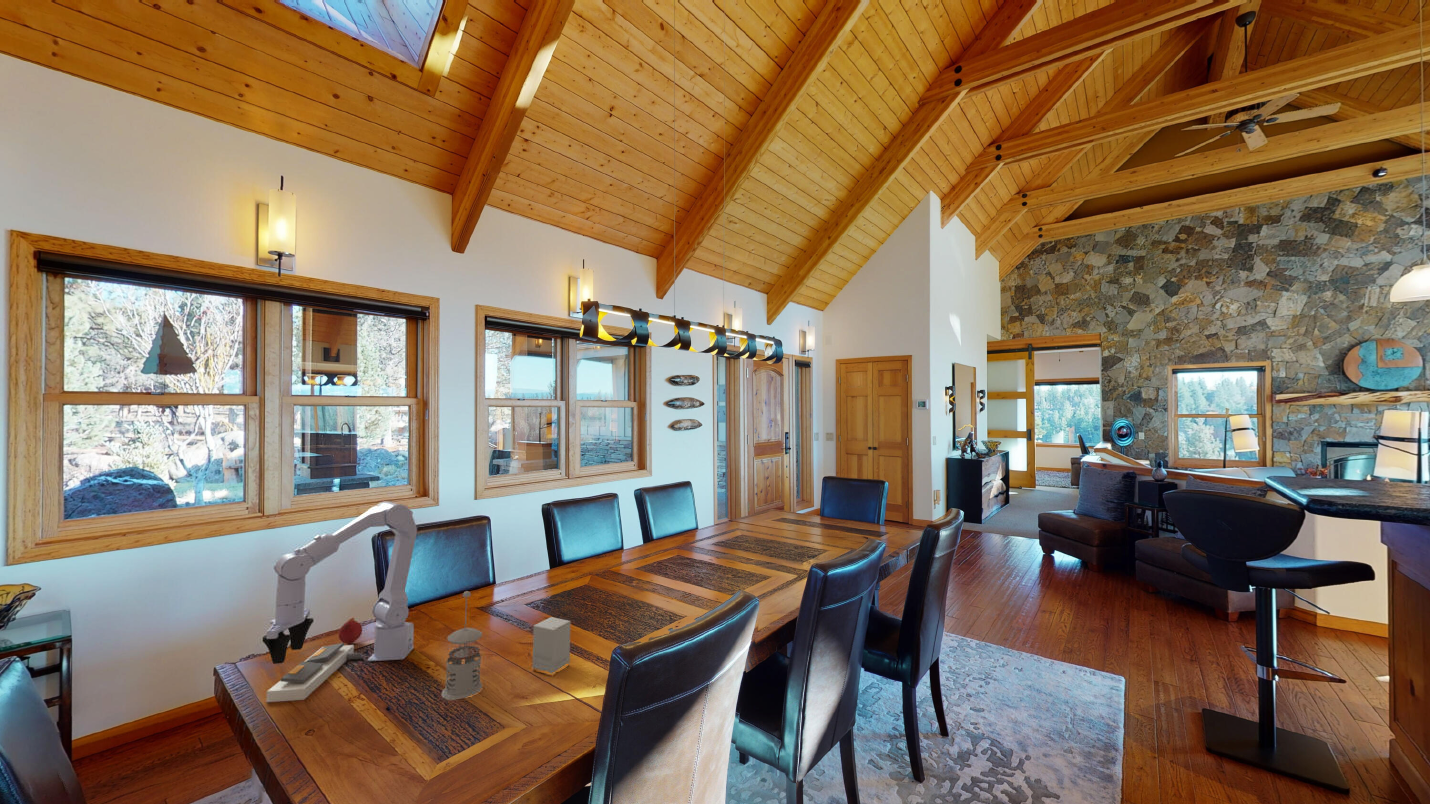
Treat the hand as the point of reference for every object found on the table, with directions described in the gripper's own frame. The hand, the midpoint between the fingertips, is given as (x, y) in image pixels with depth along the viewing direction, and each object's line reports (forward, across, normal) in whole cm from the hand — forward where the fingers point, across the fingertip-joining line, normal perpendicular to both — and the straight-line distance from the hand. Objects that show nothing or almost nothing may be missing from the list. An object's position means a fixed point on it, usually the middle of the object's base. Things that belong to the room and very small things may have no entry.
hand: (287, 655), depth 133 cm
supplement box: (+8, -1, +65) cm, 65 cm away
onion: (+8, -25, +3) cm, 26 cm away
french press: (+8, +7, +44) cm, 45 cm away
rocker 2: (+4, -11, +4) cm, 12 cm away
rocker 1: (+4, 0, +4) cm, 6 cm away
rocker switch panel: (+8, -5, +5) cm, 11 cm away
